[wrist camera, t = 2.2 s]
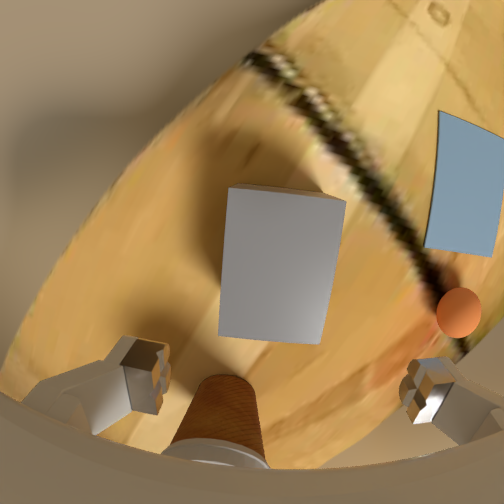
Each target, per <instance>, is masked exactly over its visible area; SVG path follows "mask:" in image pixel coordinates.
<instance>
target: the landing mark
mask: <svg viewBox="0 0 504 504" xmlns="http://www.w3.org/2000/svg"><path fill="white" fill-rule="evenodd" d="M503 189H504V139H503V138H501V137H499V136H497V135H495V134H493V133H490V132H488V131H486V130H484V129H482V128H480V127H478V126H475V125H473V124H471V123H469V122H466V121H464V120H461V119H459V118H457V117H454V116H452V115H449V114H446V113H444V112H441V111H439V127H438V146H437V159H436V170H435V179H434V188H433V195H432V202H431V209H430V215H429V221H428V227H427V232H426V237H425V242H424V247H426V248H433V249H440V250H446V251H453V252H460V253H466V254H473V255H479V256H486V257H492V254H493V249H494V245H495V240H496V235H497V230H498V224H499V218H500V212H501V205H502V198H503Z"/></svg>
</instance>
